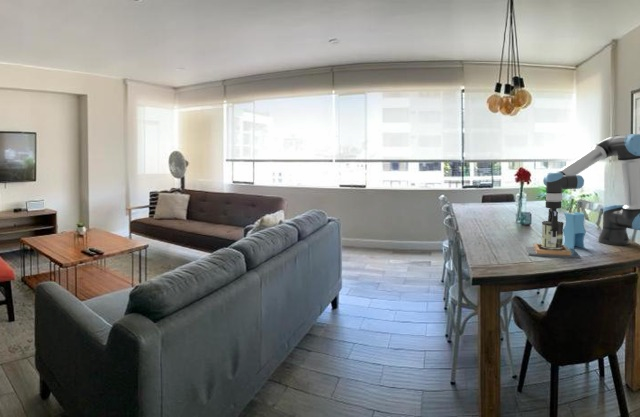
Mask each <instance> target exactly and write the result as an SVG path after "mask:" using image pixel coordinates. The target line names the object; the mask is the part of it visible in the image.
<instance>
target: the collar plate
mask: <svg viewBox="0 0 640 417" xmlns="http://www.w3.org/2000/svg"><path fill="white" fill-rule="evenodd" d="M541 246H542V243H533V246H525V250H526V252H527V255H528V256H531V257H548V258H564V259H565V258H568V259H581V255H580V254H579V253H578V252H577V251H576V250H575V248H574V249H571V248H568V247H567V246H566V245H564V244H562V247H563V248H562V249H547V248H543V247H541Z"/></svg>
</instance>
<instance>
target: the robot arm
mask: <svg viewBox="0 0 640 417" xmlns="http://www.w3.org/2000/svg"><path fill="white" fill-rule="evenodd" d="M616 156H617V161H618V162H620V163H621V170H622V173H621V174H622V184H623V194H624V204H612V205H611V204H609V205H605V206H604V207H603V211H602V213H603V214H602V229H601V232H600V233H599V234H600V235H598V241H597V242H599V243H601V244H606V245H611V246H612V245H614V246H627V245H630V237H629V234H628V232H627V231H628V230H627V229H630V230H634V231H640V133H630V134H616V135H612V136H609V137H607V138H605V139H603V140H601V141H599V142H598V143H596V144H594V145H593V146H592V147H591V149H590V150H589V151H587V152H585V153H583V154H582V155H580V156H578V158H575V159H574V160H573V161H572V162H569V164H566V165H565V166H564V167H562V168H561V169H559V170H558V171H556V172H549V173H547V174H546V175H545V176H544V177H543V181H542V183H543V184H544V185H545V188H546V190H545V193H546V194H545V195H544V197H545V208H546V209H548V218H547V221H549V222H551V224H552V229H550V231H551V243H557V231H558V221H559V220H558V218H559V216H558V215H559V212H558V210H557V209H562V204H563V203H562V200H563V190H579V189H582V188H583V186H584V185H585V179H584V177H583V176H582V175H579V174H580V173H582V172H583V171H585V170H586V169H588V168H589V167H591V166H593V165H595V164H596V163H598V162H600V161H604V160H605V159H607V158H609V157H616Z"/></svg>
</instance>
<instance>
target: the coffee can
mask: <svg viewBox="0 0 640 417" xmlns="http://www.w3.org/2000/svg"><path fill="white" fill-rule="evenodd" d="M550 229H552V224H551V222H549V221H548V220H545V221H541V244H542V246H541V247H543V248H547V249H562V248H563V247H562V245H563V243H564V242H563V241H564V238H563V236H564V233H563V229H564V222H563V221H559V220H558V231H557V243H551V231H550Z"/></svg>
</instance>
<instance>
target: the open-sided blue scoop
mask: <svg viewBox="0 0 640 417" xmlns="http://www.w3.org/2000/svg"><path fill="white" fill-rule="evenodd" d="M563 214H564V217H565V225H564V226H563V236H564V242H563V243H564V244H563V245H566V246H567V247H568V249H574V250H575V247H577V248H582V249H585V248H586V247H585V243H584V240H585V236H586V233H587V231H586V227H585V225H584V221H585V215H586V213H583V212H577V211H574V212H573V213H569V212H568V213H567V212H564V213H563Z"/></svg>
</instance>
